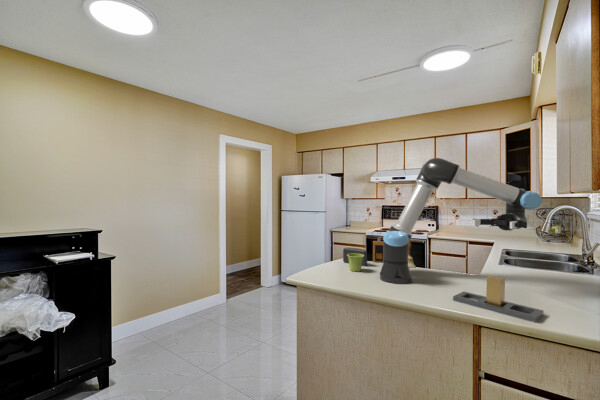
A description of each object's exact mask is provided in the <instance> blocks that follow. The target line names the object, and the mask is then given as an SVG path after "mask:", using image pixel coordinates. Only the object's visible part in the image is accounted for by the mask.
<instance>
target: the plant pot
mask: <svg viewBox="0 0 600 400" xmlns="http://www.w3.org/2000/svg"><path fill="white" fill-rule="evenodd" d="M347 256H348V259H349V263H348V265H349V271H350V272H353V273H354V272H357V273H358V272H361V271H362V267H363V266H362V260H363V257H364V255H362V254H355V253H352V254H347Z"/></svg>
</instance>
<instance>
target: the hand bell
mask: <svg viewBox="0 0 600 400" xmlns="http://www.w3.org/2000/svg"><path fill="white" fill-rule="evenodd" d="M411 249H412V241H411V240H410V241H409V243H408V266H409V269H412V268H411V267H414V268H416V265H415V264H414V259H413V257H412V256H411Z"/></svg>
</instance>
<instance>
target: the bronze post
mask: <svg viewBox="0 0 600 400" xmlns="http://www.w3.org/2000/svg"><path fill="white" fill-rule="evenodd" d="M505 286H506V277H501V276H496V275H488V276H487V277H486V291H485V292H486V294H485V295H486V296H485V297H486V303H488V304H492V305H496V306H500V307H503V306H505V301H506V299H505V298H506V295H505V294H506V289H505V288H506V287H505Z"/></svg>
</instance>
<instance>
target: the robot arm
mask: <svg viewBox="0 0 600 400" xmlns="http://www.w3.org/2000/svg"><path fill="white" fill-rule="evenodd" d="M415 182H416V186H415V187H414V189H413V191H412V193H411V194H410V197H409V199H408V201H407V202H406V204H405V206H404V208H403V210H402V212H401V214H400V215H399V218H398V220H397V221H396V223H395V224H392V225H391V226H390V228H389V230H388V231H386V232H384V233H383V239H382V240H383V241H384V263H383V262H382V263H383V264H382V267H381V270H380V272H379V279H380V280H381V281H383V282H385V283H386V282H387V283H391V284H399V285H400V284H402V285H403V284H411V283H412V282H413V276H412V273H411V271H410V269H411V268H409V266H408V243H409V241H411V239H412V237H413V232H412V231H413V229H414V227H415V225H416V223H417V221H418V220H419V218H420V216H421V214H422V212H423V210H424V208H425V207H426V205H427V203H428V201H429V199H430V197H431V195H432V194H433V192H434V191H437V190H438V189H439V187H440V186H441V184H442V183H445V184H449V185H451V184H455V185H458V186H460V187H463V188H465V189H469V190H471V191H474V192H477V193H480V194H483V195H485V196H488V197H491V198H492V199H493V198H494V199H496V200H499V201H501V202H504V203H505V213H503V214H500V215H499V216H497V217H496V218H494V217H492V218H472V227H479V226H482V225H483V226H492V227H498V228H499V229H500V230H502V231H508V232H511V231H512V230H520V229H522V228H523V229H527V228H528V218H527V216H526V210H528V211H529V210H535V209H537V208H539V207H540V206H541V205H542V202H543V199H542V197H541V195H540V194H539V193H537V192H535V191H527V190H525V188H520V187H516V186H513V185H510V184H507V183H504V182H502V181H498V180H497V179H493V178H490V177H486V176H485V175H481V174H479V173H475V172H472V171H470V170H466V169H465V168H461V166H460V165H459V164H456V163H454V162H452V161H449V160H446V159H444V158H440V157H433V158H430V159H429V160H428V161H426V162H424V164H423V165H422V167H421V168H420V171H419V173H418V175H417V177H416V180H415Z"/></svg>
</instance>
